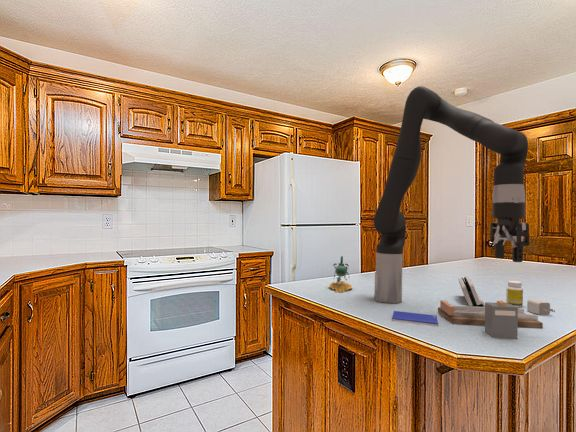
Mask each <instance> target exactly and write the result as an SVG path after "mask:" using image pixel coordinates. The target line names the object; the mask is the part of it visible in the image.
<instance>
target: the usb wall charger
mask: <svg viewBox="0 0 576 432" xmlns="http://www.w3.org/2000/svg"><path fill="white" fill-rule="evenodd" d="M526 310H527V312H529V313H532V314H534V315H537V316H550V313H552V312H553V313H556V310H555V309H553V308H551V304H550V302H547V301H543V300H539V299H536V298H535V299H528V300H527V304H526Z"/></svg>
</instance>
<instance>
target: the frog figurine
mask: <svg viewBox="0 0 576 432" xmlns="http://www.w3.org/2000/svg"><path fill="white" fill-rule="evenodd" d="M343 262H344V257H343V255H341V256H340V262H338V265H337V263H333V264H332V266H333V267H334V269H335V270H334V273H335V274H334V275H333V278H335V277H336V276H338V277H336V281H332V283H330V285H329V288H330V289H331V290H335V293H338V294H340V293H341V294H342V293H346V292H348V291H349V290H353V287H352V284H349V283H348V282H347V280H348V279H350V274H349V273H348V269H349V264H348V263H343ZM346 275H347V276H348V278H347V277H346ZM343 277H344V280H342V278H343Z"/></svg>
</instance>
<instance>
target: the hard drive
mask: <svg viewBox="0 0 576 432" xmlns="http://www.w3.org/2000/svg"><path fill="white" fill-rule="evenodd" d="M392 321H393V322H399V323H408V324H414V325H415V324H416V325H425V326H430V327H431V326H433V327H439V320H438V315H434V314H428V313H427V314H426V313H416V312H408V311H399V310H393V313H392V316H391V322H392Z"/></svg>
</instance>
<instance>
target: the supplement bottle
mask: <svg viewBox="0 0 576 432" xmlns="http://www.w3.org/2000/svg"><path fill="white" fill-rule="evenodd" d="M507 285H508V286H506V300H505V301H506V302H505V303H510V304H512V305H514V306H516V307H518V308H523V302H524V300H523V299H524V297H523V296H524V289H523V287H522V286H523V284H522V282H521V281H519V280H508V281H507Z"/></svg>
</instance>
